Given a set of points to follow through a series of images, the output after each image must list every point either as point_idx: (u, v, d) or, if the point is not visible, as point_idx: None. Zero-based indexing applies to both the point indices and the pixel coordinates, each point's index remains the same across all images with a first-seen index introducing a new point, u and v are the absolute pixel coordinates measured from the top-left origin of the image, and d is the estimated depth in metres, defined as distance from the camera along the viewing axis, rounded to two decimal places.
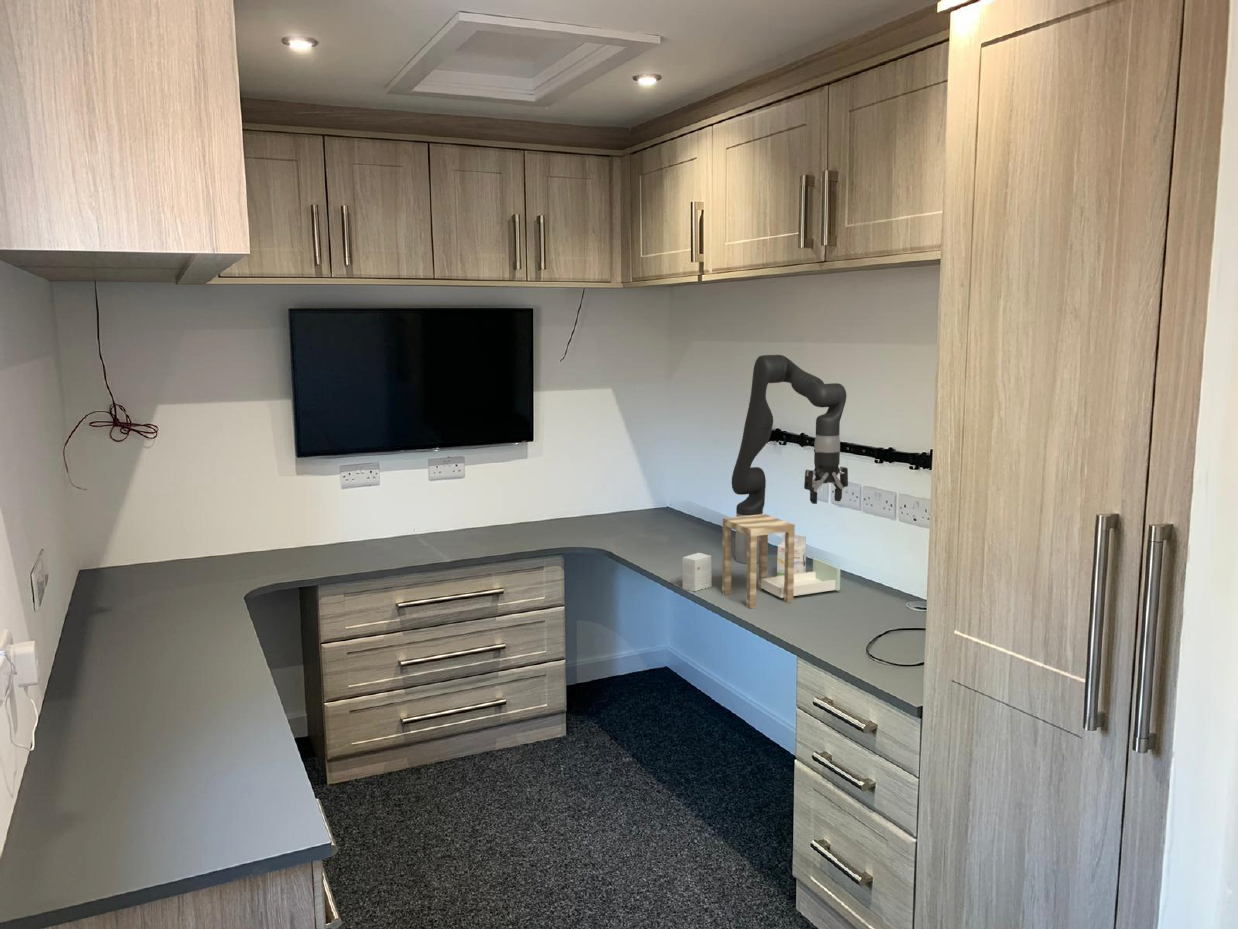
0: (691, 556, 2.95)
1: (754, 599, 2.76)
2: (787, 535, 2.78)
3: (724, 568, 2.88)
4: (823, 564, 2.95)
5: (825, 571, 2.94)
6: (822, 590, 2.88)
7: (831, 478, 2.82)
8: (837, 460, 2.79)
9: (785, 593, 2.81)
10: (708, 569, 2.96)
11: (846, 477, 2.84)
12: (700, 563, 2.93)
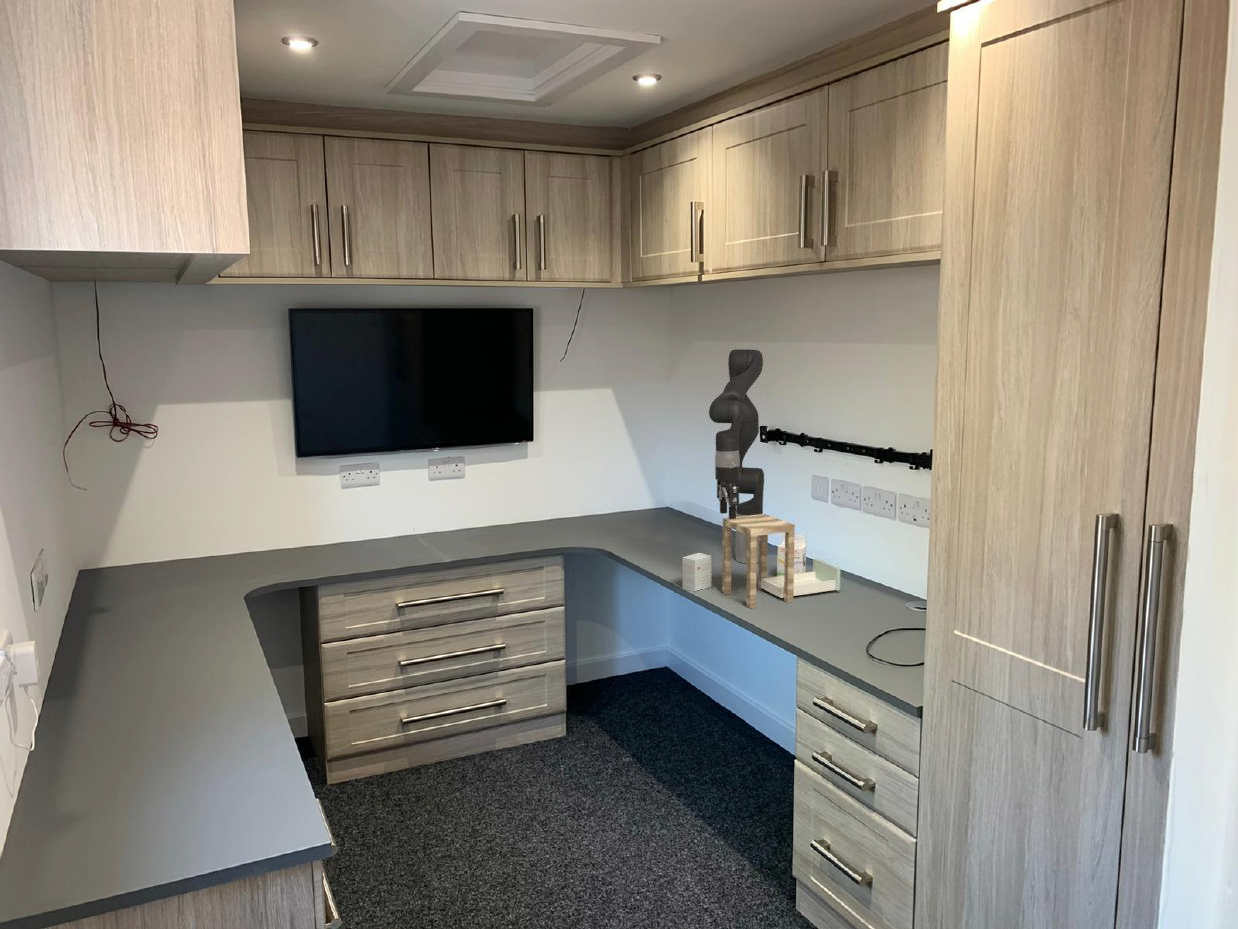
0: (691, 556, 2.95)
1: (754, 599, 2.76)
2: (787, 535, 2.78)
3: (724, 568, 2.88)
4: (823, 564, 2.95)
5: (825, 571, 2.94)
6: (822, 590, 2.88)
7: None
8: None
9: (785, 593, 2.81)
10: (708, 569, 2.96)
11: None
12: (700, 563, 2.93)
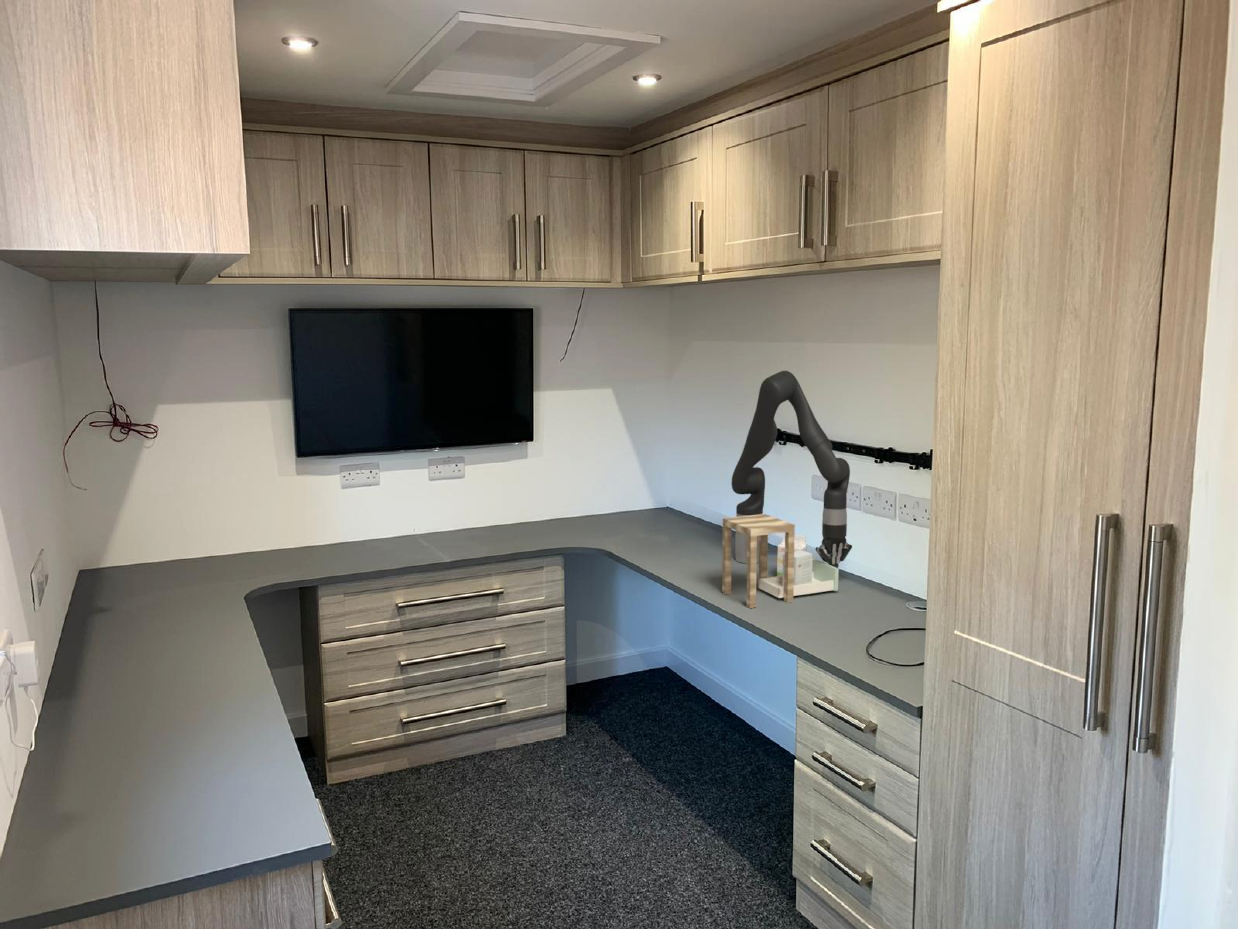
0: None
1: (754, 599, 2.76)
2: (787, 535, 2.78)
3: (724, 568, 2.88)
4: (821, 564, 2.95)
5: (823, 571, 2.94)
6: (820, 590, 2.88)
7: None
8: None
9: (785, 593, 2.81)
10: (809, 567, 2.90)
11: None
12: (801, 560, 2.87)
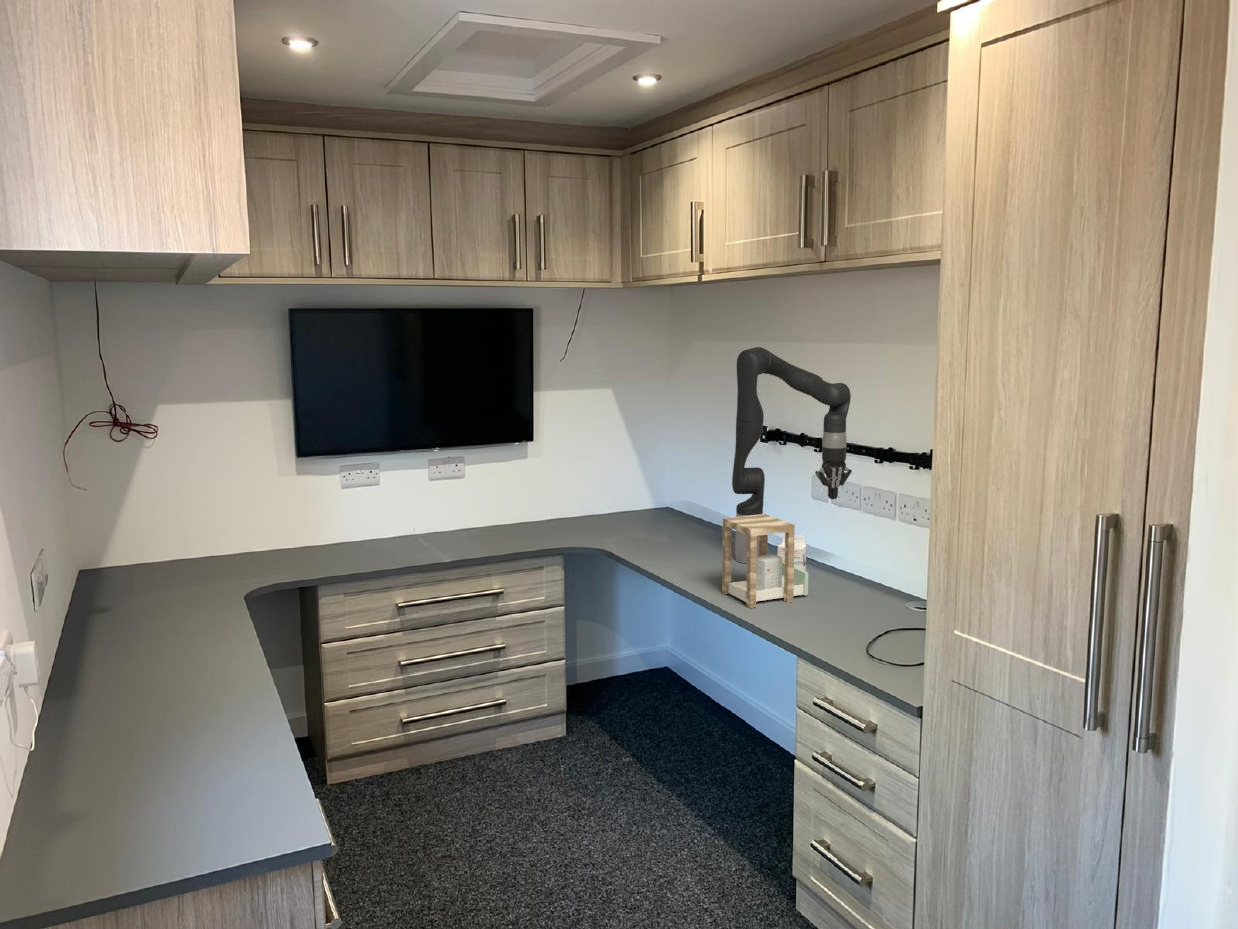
0: (761, 557, 2.85)
1: (754, 599, 2.76)
2: (787, 535, 2.78)
3: (724, 568, 2.88)
4: None
5: None
6: None
7: None
8: None
9: (785, 593, 2.81)
10: (778, 571, 2.85)
11: None
12: (770, 564, 2.83)
